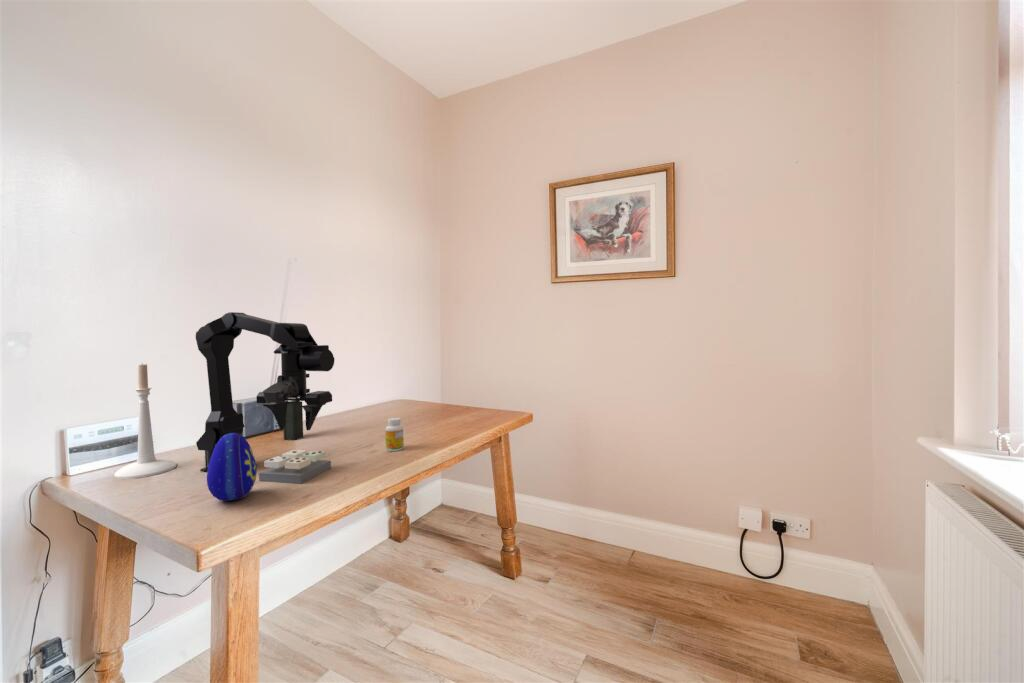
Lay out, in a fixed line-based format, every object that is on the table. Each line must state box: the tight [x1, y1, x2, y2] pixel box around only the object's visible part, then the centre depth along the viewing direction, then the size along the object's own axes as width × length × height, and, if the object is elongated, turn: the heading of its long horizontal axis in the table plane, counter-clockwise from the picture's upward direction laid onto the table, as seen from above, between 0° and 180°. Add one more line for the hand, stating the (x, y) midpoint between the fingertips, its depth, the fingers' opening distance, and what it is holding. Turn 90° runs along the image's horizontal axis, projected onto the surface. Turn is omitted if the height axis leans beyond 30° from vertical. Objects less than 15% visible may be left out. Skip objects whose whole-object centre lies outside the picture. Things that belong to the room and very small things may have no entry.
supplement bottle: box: [385, 417, 405, 452], centre depth 131 cm, size 5×5×10 cm
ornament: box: [206, 433, 258, 502], centre depth 93 cm, size 11×9×15 cm
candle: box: [282, 400, 304, 441], centre depth 146 cm, size 5×5×25 cm
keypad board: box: [258, 459, 332, 485], centre depth 109 cm, size 12×12×2 cm
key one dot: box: [281, 449, 307, 459], centre depth 113 cm, size 4×4×2 cm
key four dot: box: [285, 457, 311, 469], centre depth 106 cm, size 4×4×2 cm
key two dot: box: [263, 455, 291, 468], centre depth 107 cm, size 4×4×2 cm
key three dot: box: [301, 450, 326, 462], centre depth 111 cm, size 4×4×2 cm
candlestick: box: [114, 363, 177, 480], centre depth 113 cm, size 13×13×30 cm
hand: (295, 429), depth 109 cm, fingers open, 8 cm apart
